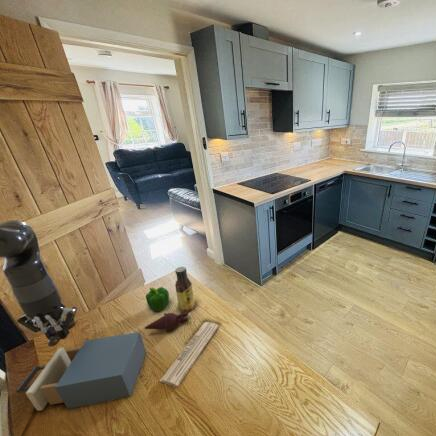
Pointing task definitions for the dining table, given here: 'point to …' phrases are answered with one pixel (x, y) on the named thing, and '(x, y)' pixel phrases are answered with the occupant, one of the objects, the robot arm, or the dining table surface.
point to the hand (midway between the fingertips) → (59, 337)
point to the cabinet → (102, 370)
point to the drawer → (48, 379)
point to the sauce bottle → (184, 290)
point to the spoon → (56, 337)
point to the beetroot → (168, 321)
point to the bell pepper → (157, 298)
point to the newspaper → (189, 355)
